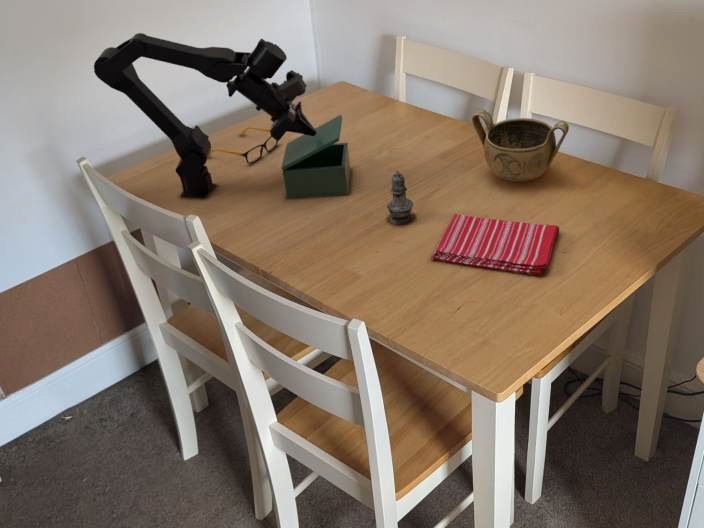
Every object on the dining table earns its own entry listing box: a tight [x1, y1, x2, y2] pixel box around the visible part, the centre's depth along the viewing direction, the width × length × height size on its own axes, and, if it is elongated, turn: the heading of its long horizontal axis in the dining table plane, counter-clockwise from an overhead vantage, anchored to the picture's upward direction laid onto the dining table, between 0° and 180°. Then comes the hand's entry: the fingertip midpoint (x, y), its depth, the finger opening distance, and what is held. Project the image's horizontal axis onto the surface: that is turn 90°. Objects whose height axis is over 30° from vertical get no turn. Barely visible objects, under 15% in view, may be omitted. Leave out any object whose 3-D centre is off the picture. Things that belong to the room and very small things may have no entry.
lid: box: [280, 114, 343, 171], centre depth 188 cm, size 15×13×1 cm
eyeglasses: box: [208, 126, 279, 165], centre depth 211 cm, size 14×14×4 cm
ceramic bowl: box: [471, 108, 570, 183], centre depth 186 cm, size 22×17×15 cm
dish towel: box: [431, 213, 560, 277], centre depth 166 cm, size 17×24×3 cm
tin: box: [282, 142, 351, 199], centre depth 192 cm, size 15×13×7 cm
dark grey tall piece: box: [386, 170, 414, 226], centre depth 175 cm, size 6×6×12 cm
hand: (315, 134), depth 187 cm, fingers closed
